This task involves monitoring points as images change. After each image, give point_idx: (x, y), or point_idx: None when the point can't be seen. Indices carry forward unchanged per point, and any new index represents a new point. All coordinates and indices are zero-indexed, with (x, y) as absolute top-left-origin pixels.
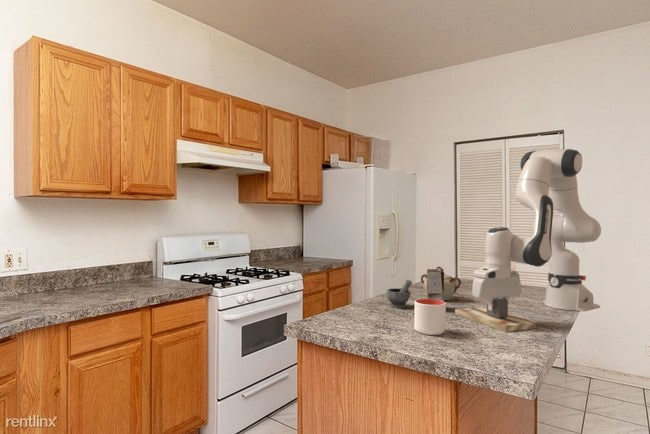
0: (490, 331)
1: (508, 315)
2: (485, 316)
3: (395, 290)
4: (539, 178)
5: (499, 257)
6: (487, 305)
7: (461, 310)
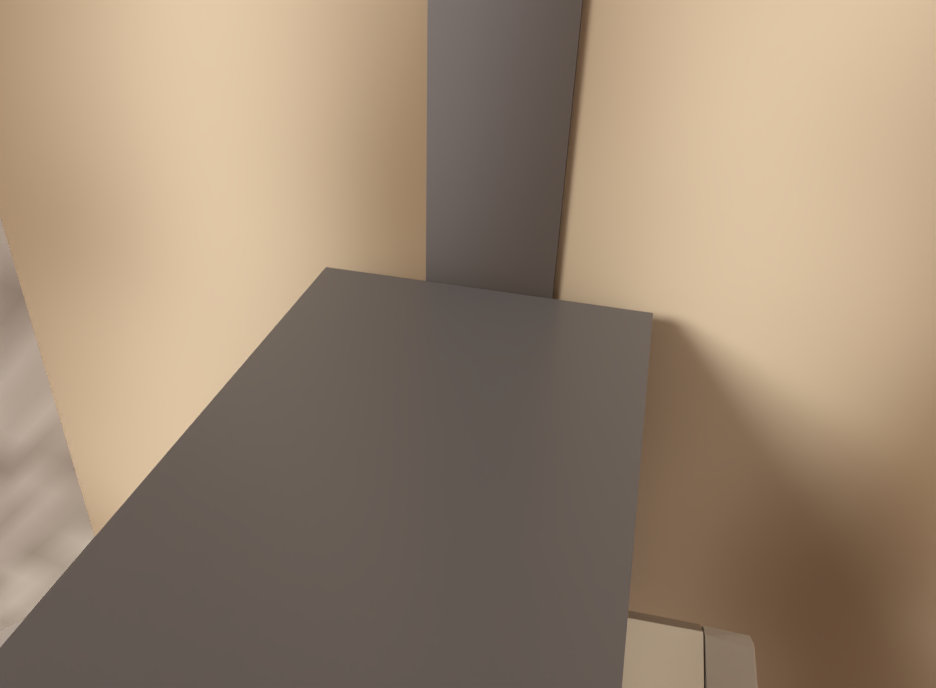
0: (33, 590)
1: (872, 542)
2: (211, 329)
3: None
4: None
5: None
6: (200, 449)
7: None
